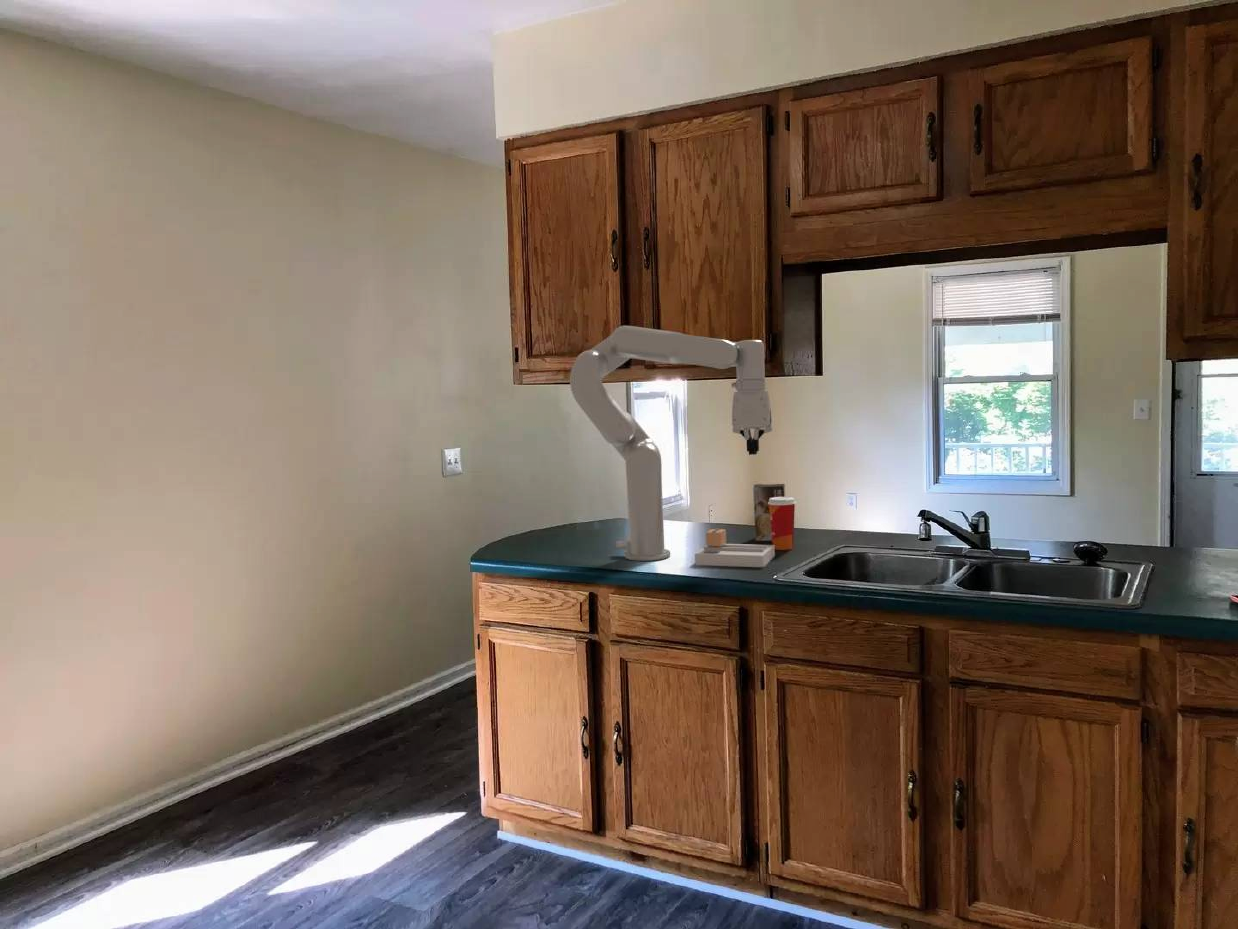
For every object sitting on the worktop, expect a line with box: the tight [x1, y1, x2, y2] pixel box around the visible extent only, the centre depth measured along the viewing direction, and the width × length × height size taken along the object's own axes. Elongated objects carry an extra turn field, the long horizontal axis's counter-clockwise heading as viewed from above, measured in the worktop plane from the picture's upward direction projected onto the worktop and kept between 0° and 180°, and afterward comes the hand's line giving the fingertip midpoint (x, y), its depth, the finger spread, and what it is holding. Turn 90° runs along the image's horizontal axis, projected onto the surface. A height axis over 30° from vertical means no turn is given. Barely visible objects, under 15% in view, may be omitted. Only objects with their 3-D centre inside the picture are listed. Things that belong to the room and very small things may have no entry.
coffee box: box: [752, 483, 786, 542], centre depth 272 cm, size 9×6×16 cm
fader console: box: [694, 543, 776, 568], centre depth 244 cm, size 18×14×4 cm
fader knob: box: [705, 527, 727, 547], centre depth 246 cm, size 4×5×5 cm
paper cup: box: [768, 496, 797, 551], centre depth 257 cm, size 8×8×14 cm
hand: (753, 454), depth 251 cm, fingers closed
